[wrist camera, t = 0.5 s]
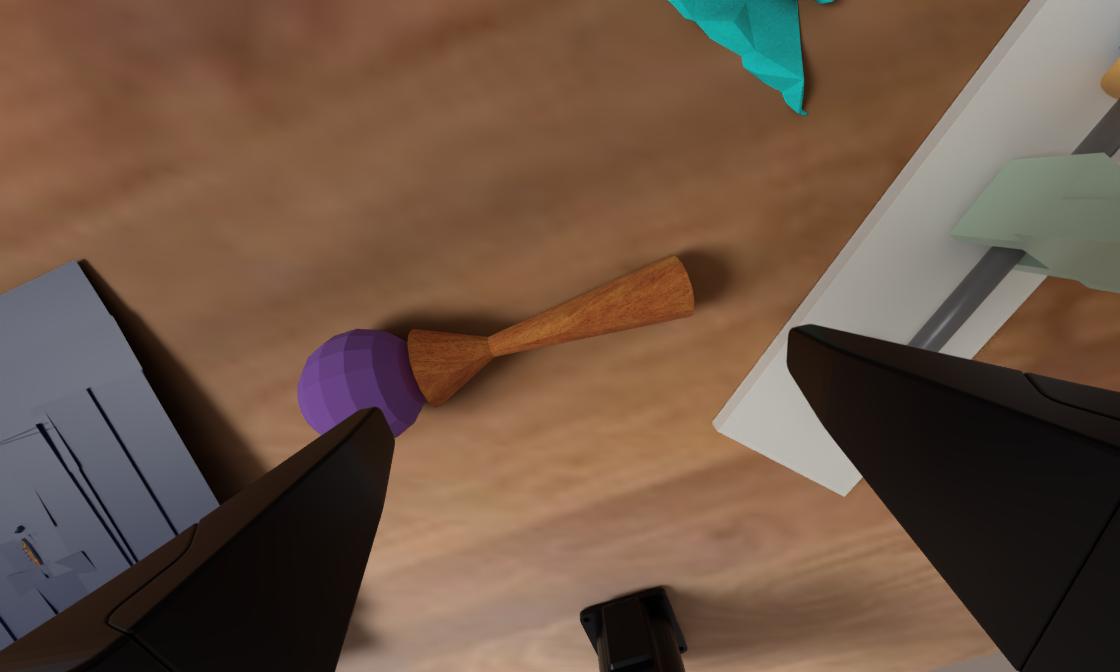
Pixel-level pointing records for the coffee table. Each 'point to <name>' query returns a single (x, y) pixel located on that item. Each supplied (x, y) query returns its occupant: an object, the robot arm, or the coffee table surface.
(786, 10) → the cloth
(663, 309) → the kendama
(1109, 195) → the sage green stepped block
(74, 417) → the papers
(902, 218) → the white board with rod
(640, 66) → the coffee table surface
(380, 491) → the robot arm
